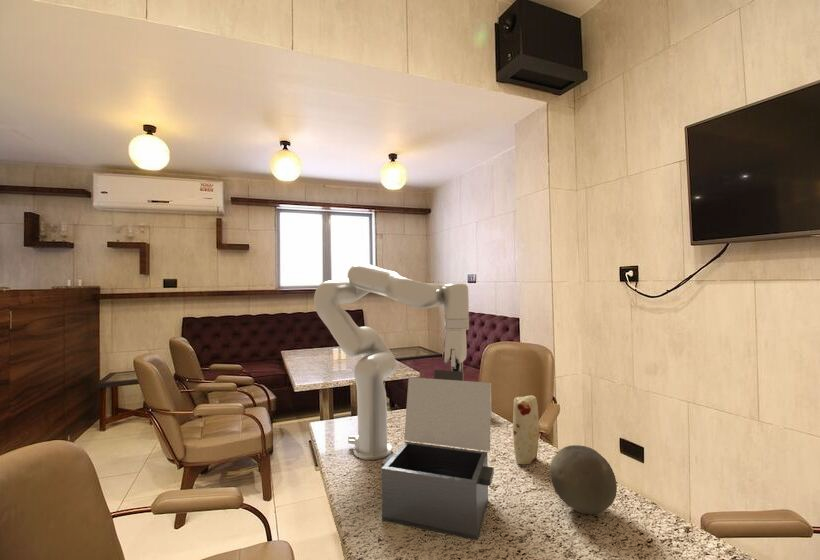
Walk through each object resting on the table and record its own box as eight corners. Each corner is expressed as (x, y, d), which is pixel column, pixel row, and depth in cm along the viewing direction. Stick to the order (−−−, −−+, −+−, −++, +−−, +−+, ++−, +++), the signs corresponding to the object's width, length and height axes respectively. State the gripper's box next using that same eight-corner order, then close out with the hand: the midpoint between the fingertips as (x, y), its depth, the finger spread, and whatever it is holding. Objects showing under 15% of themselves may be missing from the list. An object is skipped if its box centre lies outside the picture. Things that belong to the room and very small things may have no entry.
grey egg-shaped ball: (562, 489, 100) (561, 432, 101) (622, 509, 91) (621, 445, 92) (542, 515, 89) (541, 450, 90) (609, 539, 80) (607, 468, 81)
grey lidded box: (373, 518, 89) (372, 466, 89) (398, 484, 104) (397, 440, 104) (487, 542, 80) (486, 484, 80) (497, 501, 95) (496, 453, 95)
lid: (409, 368, 109) (410, 368, 110) (404, 440, 104) (405, 439, 105) (490, 373, 101) (491, 373, 102) (489, 451, 96) (490, 450, 97)
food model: (526, 470, 111) (525, 401, 111) (507, 462, 116) (506, 396, 117) (545, 460, 117) (543, 395, 118) (526, 453, 122) (524, 390, 123)
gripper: (450, 321, 124) (451, 378, 123) (437, 326, 110) (438, 390, 109) (473, 322, 121) (474, 380, 121) (463, 327, 107) (464, 392, 107)
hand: (457, 385), depth 115 cm, fingers closed
